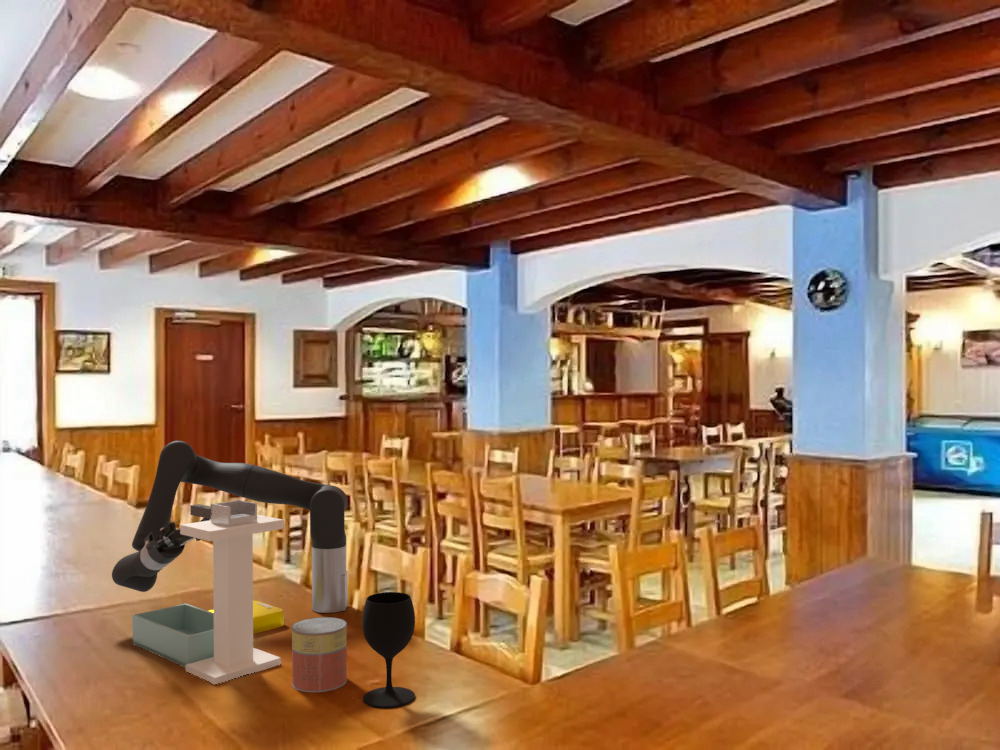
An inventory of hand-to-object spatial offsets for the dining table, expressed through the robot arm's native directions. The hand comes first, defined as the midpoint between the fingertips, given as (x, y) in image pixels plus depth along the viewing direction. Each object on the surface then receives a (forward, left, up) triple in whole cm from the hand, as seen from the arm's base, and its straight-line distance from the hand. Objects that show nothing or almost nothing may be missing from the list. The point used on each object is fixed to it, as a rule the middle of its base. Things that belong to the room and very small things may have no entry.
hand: (191, 522), depth 197 cm
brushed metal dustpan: (-8, +8, +2) cm, 12 cm away
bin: (+2, -2, -30) cm, 30 cm away
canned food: (-32, +22, -30) cm, 50 cm away
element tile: (-8, -19, -30) cm, 37 cm away
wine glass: (-47, +32, -30) cm, 65 cm away
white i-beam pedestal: (-12, +12, -30) cm, 35 cm away
